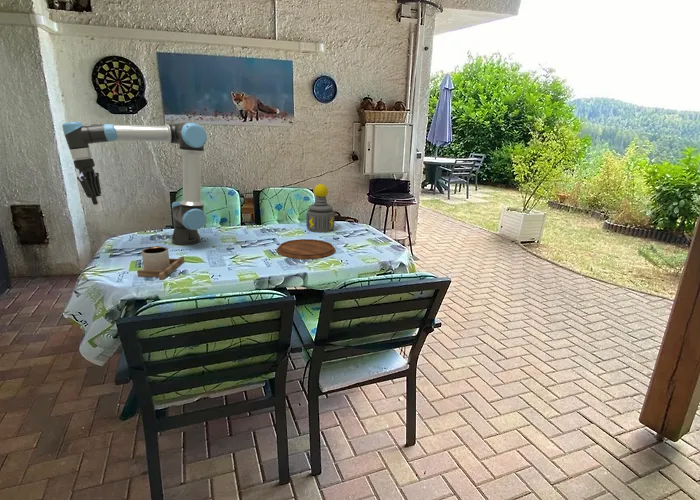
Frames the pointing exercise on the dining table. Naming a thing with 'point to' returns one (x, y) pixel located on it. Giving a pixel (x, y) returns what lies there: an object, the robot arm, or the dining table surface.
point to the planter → (155, 258)
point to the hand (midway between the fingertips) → (99, 210)
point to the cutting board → (306, 249)
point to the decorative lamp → (320, 212)
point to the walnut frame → (162, 274)
